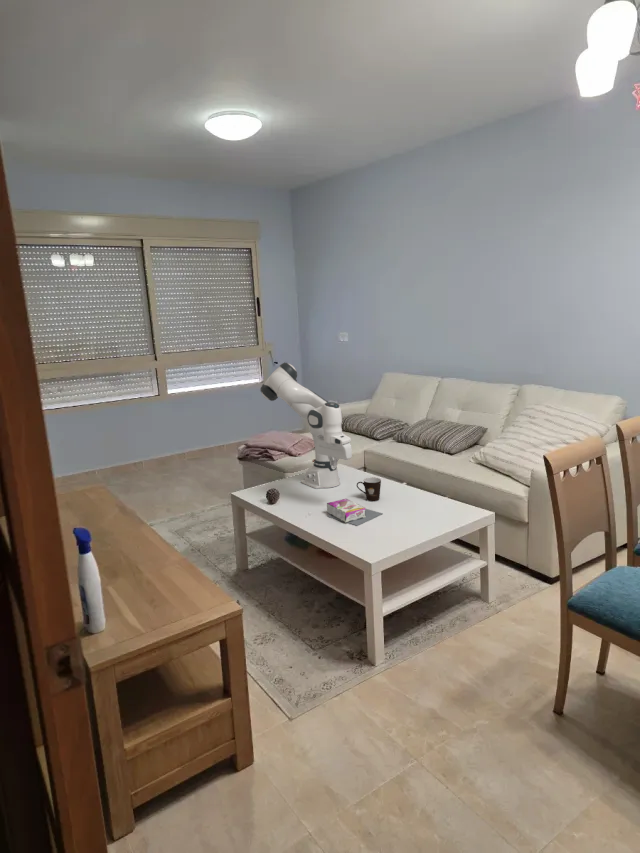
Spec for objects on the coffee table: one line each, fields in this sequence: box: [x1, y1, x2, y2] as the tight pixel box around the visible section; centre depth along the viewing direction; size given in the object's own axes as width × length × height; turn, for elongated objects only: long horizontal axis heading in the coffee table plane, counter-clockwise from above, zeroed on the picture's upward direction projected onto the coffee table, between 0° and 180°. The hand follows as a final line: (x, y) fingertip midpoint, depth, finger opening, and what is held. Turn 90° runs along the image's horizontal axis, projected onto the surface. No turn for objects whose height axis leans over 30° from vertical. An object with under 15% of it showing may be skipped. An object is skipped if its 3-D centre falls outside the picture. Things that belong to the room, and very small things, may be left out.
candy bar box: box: [326, 498, 367, 524], centre depth 260 cm, size 11×5×16 cm
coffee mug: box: [356, 476, 382, 502], centre depth 281 cm, size 12×9×10 cm
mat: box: [327, 508, 384, 527], centre depth 261 cm, size 18×18×1 cm
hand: (333, 465), depth 268 cm, fingers closed
